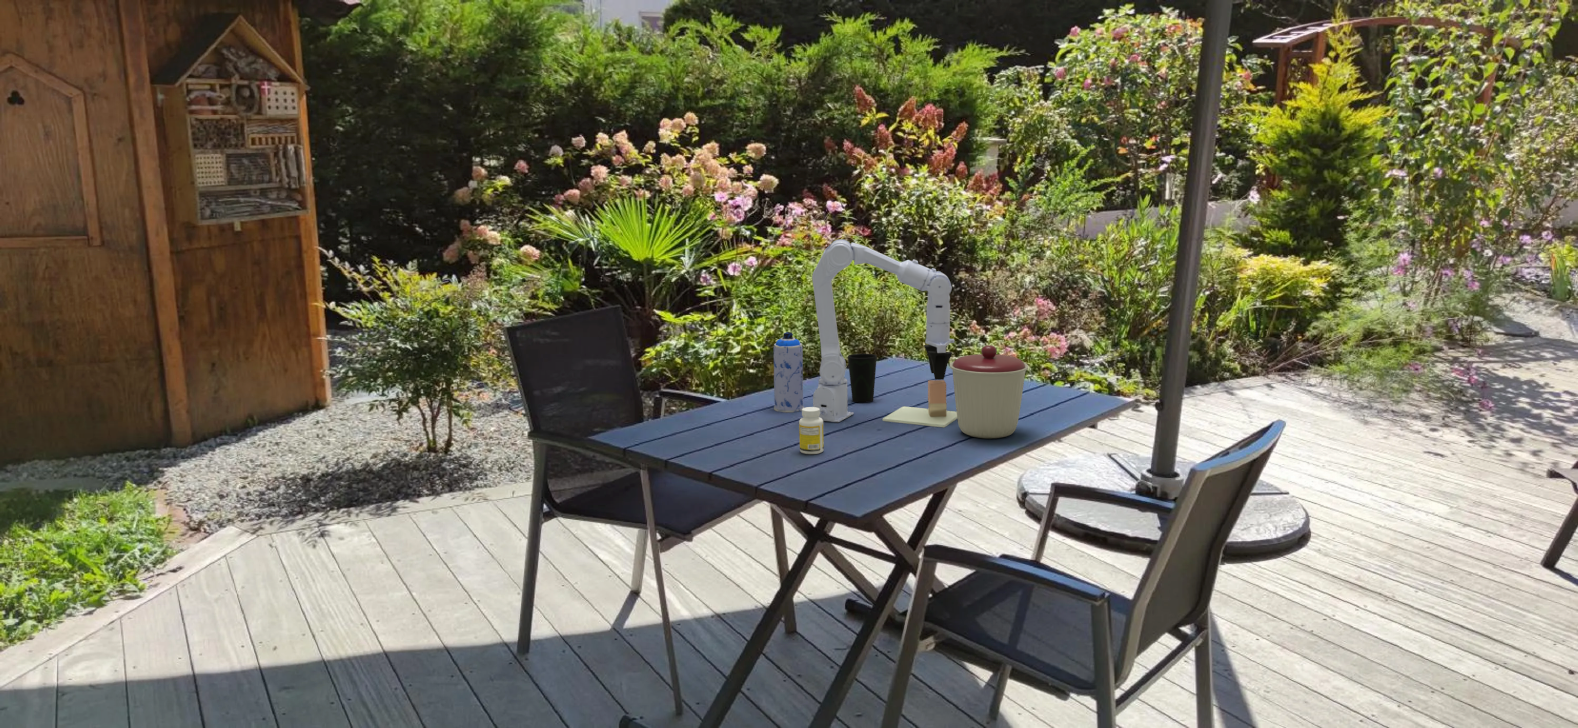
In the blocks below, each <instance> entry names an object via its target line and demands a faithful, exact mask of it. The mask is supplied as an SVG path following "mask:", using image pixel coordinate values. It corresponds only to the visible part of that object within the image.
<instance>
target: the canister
mask: <svg viewBox="0 0 1578 728" xmlns="http://www.w3.org/2000/svg"><path fill="white" fill-rule="evenodd" d="M997 352H998V350H997V348H996V347H995V345H991V344H987V345H984V346H982V348H981V354H980V353H979V354H970V355H969V354H968V355H962V356H960V357H958V358H956V359H955V360H953V361H952V362H950V363H949V368H950V369H951V370H952V377H953V380H952V381H953V390H954V399H955V400H954V401H955V409H956V411H955V412H957V419H956V420H957V425H958V427H959V429H960V430H961V432H962V433H964V434H965V435H967V436H970V437H974V438H979V439H1001V438H1005V437H1008V436H1010V435H1013V433H1014V432H1015V431H1016V430H1017V427H1018V423H1019V419H1020V418H1019V417H1020V412H1021V408H1022V407H1021V405H1022V400H1023V399H1022V398H1023V391H1024V384H1025V376H1026V372H1027V370H1028V369H1029V365H1028V363H1026V362H1024V361H1023V360H1021V359H1020V358H1017V357H1015V356H1011V355H1007V354H1006V355H1003V354H997Z"/></svg>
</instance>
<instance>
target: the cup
mask: <svg viewBox="0 0 1578 728" xmlns="http://www.w3.org/2000/svg"><path fill="white" fill-rule="evenodd" d="M847 364H848V371H849V381H850V391H851V399H852V402H854V403H871V402H874V397H875V395H874V394H875V383H876V382H875V381H876V368H877V355H876V354H875V353H874V354H872V353H852V354H849V355H847Z"/></svg>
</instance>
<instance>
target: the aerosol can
mask: <svg viewBox="0 0 1578 728" xmlns="http://www.w3.org/2000/svg"><path fill="white" fill-rule="evenodd" d="M803 355H804V353H803V344H802V343H801V342H800V340H799V339H797V338H796V337H793V333H792V332H791V331H786V332H783V336H782V337H781V338H779V339H777V341H776V342H775V343H774V344H773V386H774V387H773V389H774V390H773V391H774V392H773V393H774V394H773V395H774V398H773V399H774V400H773V401H774V406H773V410H774V411H775V412H777V413H796V412H802V409H803V408H805V406H804V375H803V374H804V373H803V372H804V371H803V370H804V367H803V366H804V365H803V363H804V362H803V360H804V358H803Z"/></svg>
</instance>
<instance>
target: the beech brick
mask: <svg viewBox="0 0 1578 728" xmlns="http://www.w3.org/2000/svg"><path fill="white" fill-rule="evenodd" d="M927 401H928V400H927ZM927 403H928V404H927V405H928V408H927V409H928V413H929V415H930V417H946V411H948V410H947V408H948V407H947V402H946V403H934V404H930V403H929V401H928V402H927Z"/></svg>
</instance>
